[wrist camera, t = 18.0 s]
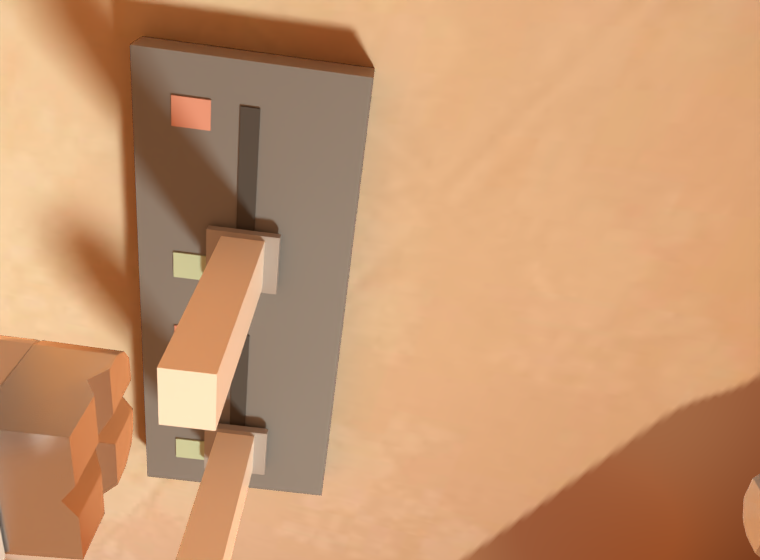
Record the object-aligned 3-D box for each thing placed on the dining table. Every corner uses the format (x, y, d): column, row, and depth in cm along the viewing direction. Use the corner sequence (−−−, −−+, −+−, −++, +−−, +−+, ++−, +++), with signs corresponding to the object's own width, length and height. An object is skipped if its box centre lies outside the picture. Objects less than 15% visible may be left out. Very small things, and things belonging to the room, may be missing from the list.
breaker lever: (206, 421, 47) (148, 589, 36) (268, 429, 47) (228, 597, 36) (205, 462, 48) (150, 634, 38) (265, 469, 49) (226, 642, 38)
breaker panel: (142, 36, 37) (129, 45, 35) (374, 68, 38) (373, 78, 36) (156, 455, 51) (147, 477, 50) (324, 474, 52) (321, 496, 50)
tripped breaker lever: (208, 225, 40) (136, 359, 29) (281, 234, 40) (236, 370, 29) (207, 281, 42) (139, 427, 31) (277, 290, 42) (234, 438, 31)
